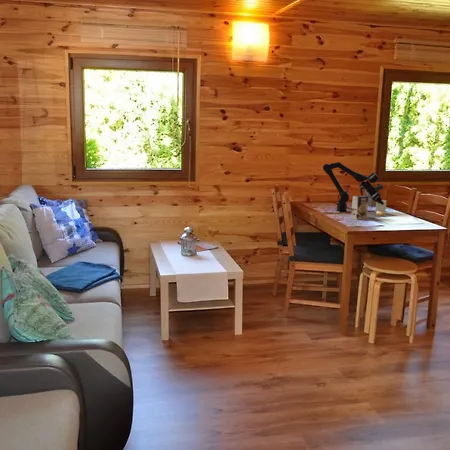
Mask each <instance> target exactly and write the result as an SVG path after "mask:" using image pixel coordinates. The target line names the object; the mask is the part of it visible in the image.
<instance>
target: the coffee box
mask: <svg viewBox="0 0 450 450" xmlns="http://www.w3.org/2000/svg"><path fill="white" fill-rule="evenodd" d="M351 202H352V203H351V215H350V219H352V220H355V221H358V220H360V221H361V220H366V219H367V218H368V217H367V212H368V196H365V195H364V194H363V195H362V196H361V195H352V201H351Z"/></svg>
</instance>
